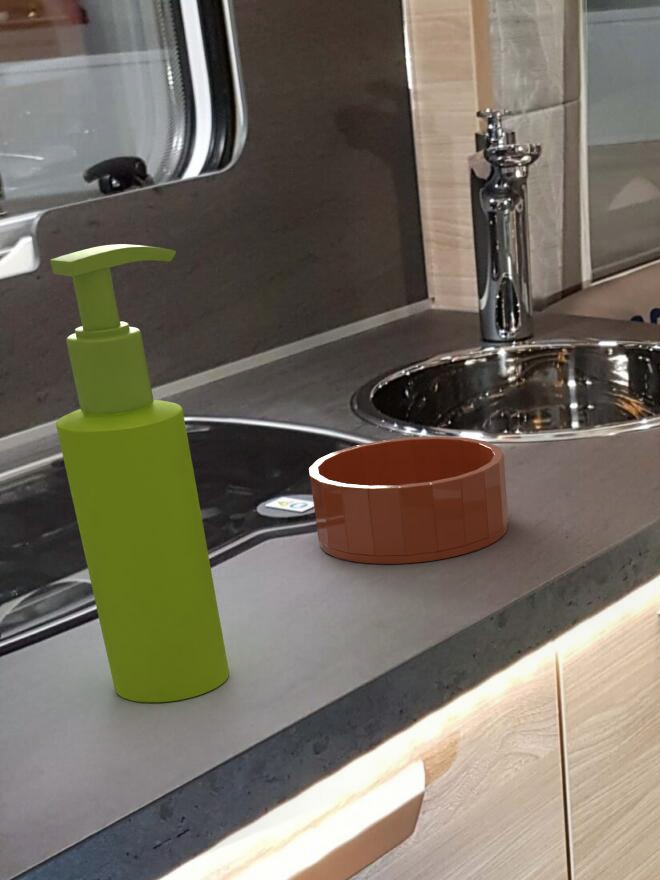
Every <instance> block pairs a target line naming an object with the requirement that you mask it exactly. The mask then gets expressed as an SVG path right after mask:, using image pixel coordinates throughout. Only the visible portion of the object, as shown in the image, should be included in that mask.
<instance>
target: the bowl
mask: <svg viewBox="0 0 660 880" xmlns="http://www.w3.org/2000/svg"><path fill="white" fill-rule="evenodd" d="M505 465H506V464H505V455H504V453H503V451H502V448H500V446H497V445H495V444H493V443H491V442H489V441H487V440H482V439H481V440H480V439H475V438H469V437H463V436H462V437H460V436H444V435H442V436H441V435H436V436H435V435H433V436H413V437H411V436H410V437H409V436H408V437H400V438H392V439H390V438H389V439H384V440H383V439H382V440H377V441H372V442H366V443H361V444H357V445H353V446H350V447H346V448H343V449H339V450H336V451H333V452H331V453H329V454H326V455H324V456H322V457H320V458H318V459H317V460H316V461H314V462H313V463H312V465H310V466H309V468H308V473H309V479H310V487H311V494H312V502H313V510H314V516H315V524H316V532H317V537H318V538H317V539H318V545H319V547H320V549H321V550H322V551H323V552H324V553H326V554H328V555H330V556H331V557H334V558H336V559H340V560H344V561H349V562H354V563H363V564H374V565H375V564H376V565H401V564H403V565H404V564H417V563H424V562H432V561H433V562H434V561H439V560H445V559H450V558H454V557H459V556H462V555H465V554H469V553H472V552H476V551H478V550H481V549H483V548H486V547H488V546H490V545H492V544H494V543H495V542H497V541H499V540H501V538H502V537H504V536H505V534H506V533H507V530H508V527H509V526H508V520H509V512H508V509H509V508H508V495H507V481H506V466H505Z"/></svg>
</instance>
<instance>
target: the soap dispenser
mask: <svg viewBox="0 0 660 880" xmlns="http://www.w3.org/2000/svg"><path fill="white" fill-rule="evenodd" d="M176 253H177V250H174V249H169V248H164V247H156V246H149V245H140V244H129V243H128V244H127V243H125V244H123V243H120V244H119V243H118V244H106V245H98V246H94V247H90V248H86V249H81V250H78V251H74V252H70V253H68V254H64V255H60V256H58V257H55V258H51V259H50V260H49V261H50V265H51V271H52V274H53V275H59V276H65V277H71V278H72V282H73V287H74V292H75V298H76V301H77V302H76V303H77V307H78V311H79V312H78V313H79V317H80V321H81V326H78V327H76V328H75V329H74V333H72V334H70V335H69V336H67V337H66V346H67V351H68V357H69V361H70V366H71V371H72V375H73V379H74V380H73V381H74V385H75V389H76V395H77V399H78V404H79V409H76V410H74V411H72V412H69V413H67V414H65V415H63V416H62V417H60V418H58V420H56V423H55V427H56V431H57V436H58V440H59V445H60V450H61V454H62V459H63V462H64V468H65V471H66V477H67V480H68V486H69V490H70V495H71V498H72V504H73V508H74V512H75V517H76V521H77V525H78V530H79V535H80V540H81V544H82V549H83V554H84V557H85V562H86V567H87V571H88V575H89V580H90V584H91V588H92V594H93V599H94V602H95V607H96V611H97V616H98V620H99V626H100V629H101V634H102V638H103V643H104V647H105V652H106V656H107V661H108V665H109V668H110V674H111V679H112V683H113V688H114V691H115V693H116V694H117V695H118V696H119V697H121V698H123V699H125V700H128V701H132V702H139V703H148V704H149V703H150V704H151V703H153V704H154V703H167V702H168V703H169V702H176V701H181V700H185V699H186V700H187V699H191V698H195V697H197V696H201V695H203V694H206V693H208V692H211V691H213V690H215V689H217V688H218V687H220V686H221V685H223V684H224V683H225V682H226V681H227V680H228V678H229V675H230V668H229V663H228V658H227V651H226V647H225V641H224V634H223V629H222V623H221V618H220V614H219V613H220V612H219V606H218V601H217V595H216V590H215V584H214V578H213V574H212V568H211V562H210V557H209V550H208V545H207V539H206V534H205V528H204V521H203V516H202V512H201V505H200V501H199V495H198V489H197V483H196V477H195V471H194V466H193V461H192V454H191V449H190V448H191V447H190V444H189V438H188V432H187V426H186V420H185V415H184V410H183V407H182V406H181V405H180V404H178V403H175V402H172V401H167V400H161V399H154V395H153V389H152V385H151V384H152V383H151V378H150V374H149V368H148V363H147V358H146V353H145V347H144V341H143V336H142V332H141V330H140V329H139V328H137V327H135V326H130V324H129V322H125V321H120V315H119V310H118V305H117V300H116V295H115V290H114V284H113V278H112V273H111V268H114V267H117V266H122V265H125V264H126V265H127V264H129V263H136V262H144V261H157V262H171V261H173V259H174V258H175V256H176Z"/></svg>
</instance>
